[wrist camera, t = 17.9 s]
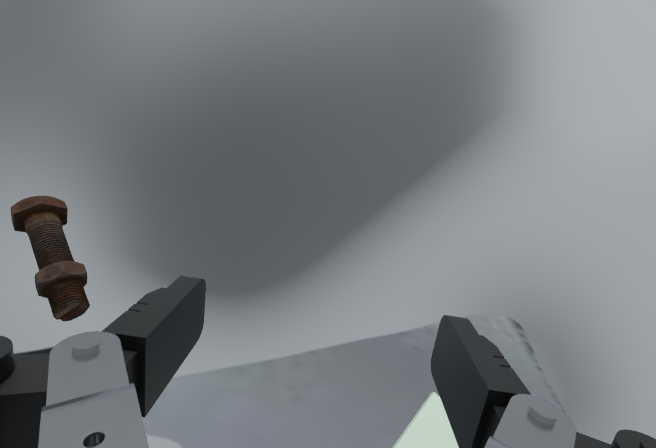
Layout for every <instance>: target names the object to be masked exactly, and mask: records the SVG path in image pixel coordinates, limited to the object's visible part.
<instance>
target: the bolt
mask: <svg viewBox="0 0 656 448" xmlns="http://www.w3.org/2000/svg"><path fill="white" fill-rule="evenodd" d="M11 216H12V222H13V226H14V230H15V231H21V232H27V234H28V236H29V238H30V241H31V245H32V248H33V252H34V255H35V258H36V261H37V265H38V268H39V270H40V271H39V272H38V273H36V274H35V283H36V289H37V292H38V295H39V296H42V297H46V298H48V300H49V303H50V306H51V309H52V313H53V316H54V317H55V318H56V319H61V320H62V321H70V320H72V319H74V318H77V317H79V316H80V315H82V314H84V313H85V311H86V310H87V309H88V308H89V306H90V304H89V302H88V299H87V297H86V294H85V292H84V288H83V287H84V286H85V285H86V283H87V272H86V269H85V266H84V265H83V264H81V263H78V262H74V259H73V257H72V255H71V252H70V249H69V246H68V243H67V240H66V238H65V234H64V232H63V229H62V226H63V225H65V224H67V206H66V204H65V202H64V201H62V200H59V199H57V198H54V197H50V196H35V197H29V198H26V199H23V200H21V201H19V202H17V203H16V204H14V205H13V206H12V207H11Z"/></svg>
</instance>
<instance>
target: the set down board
mask: <svg viewBox="0 0 656 448" xmlns="http://www.w3.org/2000/svg"><path fill="white" fill-rule="evenodd" d="M392 448H459V447H458V444H457V441H456V438H455V436H454V433H453V430H452V428H451V425H450V422H449V420H448V417H447V414H446V411H445V409H444V406H443V403H442V401H441V398H440V397H439V396H438V395H437V394H436V393H435V392H432V393H431V394H430V395H429V397H428V398H427V399H426V401H425V402H424V404H423V405H422V406H421V408H420V409H419V411H418V412H417V413H416V415H415V416H414V418H413V419H412V421H411V422H410V423H409V425H408V426H407V428H406V429H405V430H404V432H403V433H402V435H401V436H400V437H399V439H398V440H397V442H396V443H395V444H394V446H393V447H392Z"/></svg>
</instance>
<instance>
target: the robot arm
mask: <svg viewBox="0 0 656 448" xmlns="http://www.w3.org/2000/svg"><path fill="white" fill-rule="evenodd" d="M205 291H206V283H205V280H204V279H200V278H193V277H186V276H180V277H179V278H178V279H177V280H175V281H174V282H173V283H172V284H171V285H170V286H169V287H168V288H160V289H158V290H155V291H153V292H150V293H148V294H146V295H145V296H144V297H143V298H141V299H140V300H139V301H138V302H137V304H134V305H133V306H132V307H130V308H129V310H128V311H126V312H125V313H123V314H122V315H121V316H120V317H119V318H117V319H116V320H115V321H114V322H112V323H111V324H110V325H109V326H108V327H107V328H105V329H104V330H103V331H102V332H100V331H96V332H86V333H81V334H78V335H74V336H72V337H69V338H67V339H65V340H63V341H61V342H60V343H58V344H57V345H56V346H55V347H54V348H53V349H52V350H51V352H50V353H45V354H28V355H14V354H13V345H12V341H11V340H10V339H8V338H6V337H4V336H0V448H149V447H148V442H147V438H146V433H145V429H144V424H143V420H142V417H145V416H146V415H147V413H148V412H149V411H150V409H151V408H152V406H153V405H154V403H155V402H156V400H157V399H158V397H159V396H160V395H161V393H162V392H163V390H164V389H165V387H166V386H167V384H168V383H169V382H170V380H171V379H172V377H173V376H174V374H175V373H176V371H177V370H178V369H179V367H180V365H181V364H182V363H183V361H184V360H185V358H186V357H187V356H188V354H189V352H190V351H191V350H192V348H193V347H194V345H195V344H196V342H197V341H198V339H199V337H200V335H201V332H202V329H203V323H204V310H205ZM431 372H432V376H433V379H434V382H435V384H436V387H437V390H438V393H439V395H440V398H441V401H442V403H443V406H444V409H445V411H446V414H447V417H448V420H449V422H450V425H451V428H452V430H453V433H454V436H455V438H456V441H457V444H458V447H459V448H656V439H654V438H652V437H650V436H648V435H645V434H642V433H639V432H636V431H632V430H620V431H618V432H617V434H616V436H615V438H614V440H613V442H612V445H610V444H607V443H605V442H602V441H599V440H597V439H594V438H591V437H588V436H586V435H583V434H580V433H578V432H576V428H575V426H574V424H573V422H572V421H571V419H570V418H569V417H568V416H567V415H566V414H565V413H564V412H563V411H561V410H560V409H559V408H557V407H556V406H554V405H553V404H551V403H549V402H548V401H546V400H544V399H541V398H539V397H536V396H533V395H531V394H530V392H529V391H528V390H527V388H526V387H525V385H524V384H523V383H522V381H521V380H520V378H519V377H518V376H517V374H516V373H515V372H514V370H513V369H511V366H510V365H509V363H508V362H507V360H506V359H504V356H503V355H502V353H501V352H500V351H499V349H498V348H497V347H496V346H495V345H494V344H493V343H492V342H490V341H489V340H488V339H487V338H485V337H484V336H481V335H479V334H478V333H477V331H476V330H475V328H474V327H473V325H472V324H471V322H470V321H469V320H468V319H467V318H460V317H453V316H447V315H444V316H443V317H442V319H441V321H440V325H439V329H438V333H437V337H436V341H435V345H434V349H433V353H432V358H431Z"/></svg>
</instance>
